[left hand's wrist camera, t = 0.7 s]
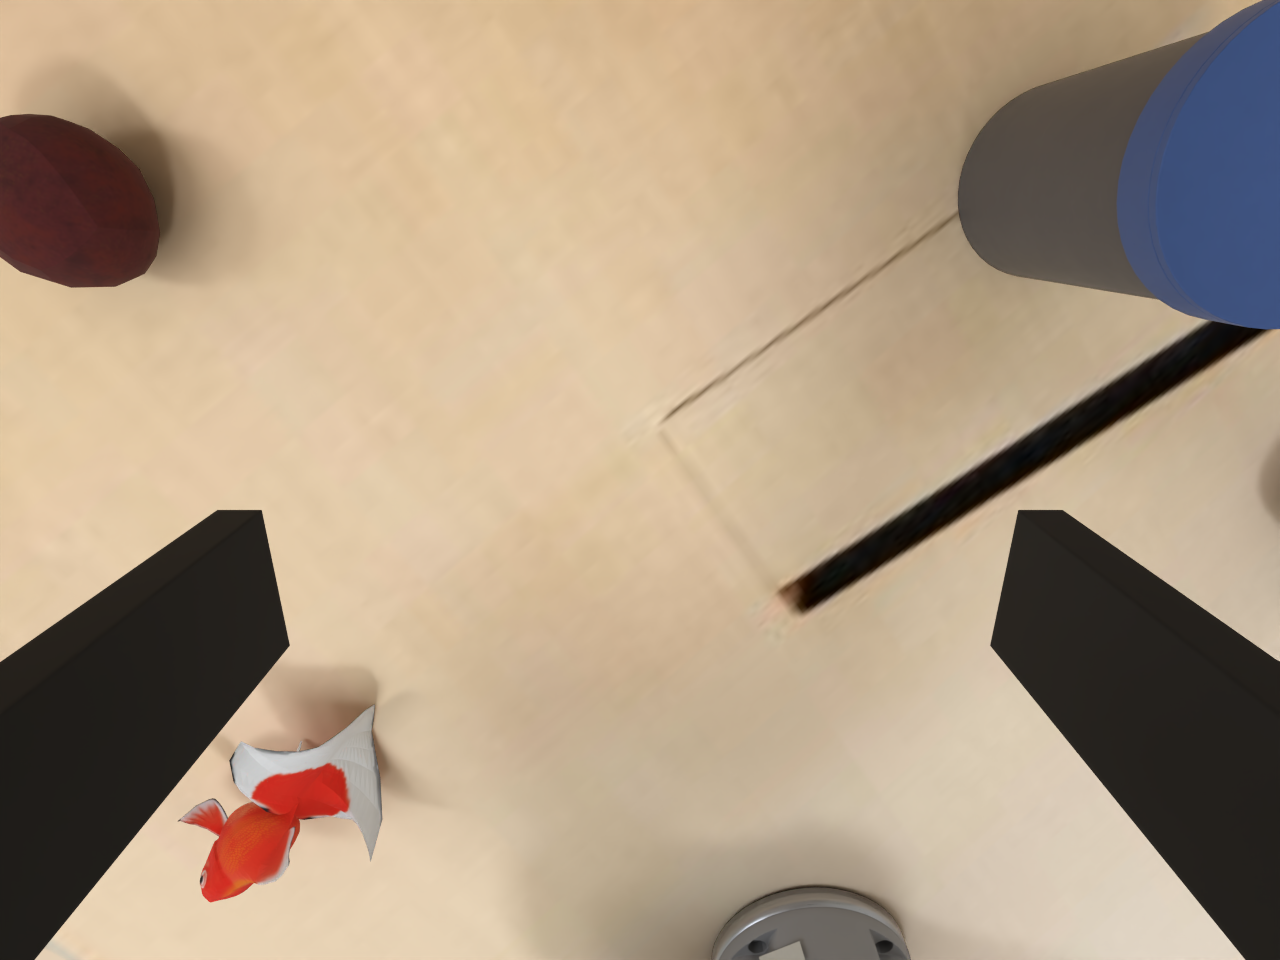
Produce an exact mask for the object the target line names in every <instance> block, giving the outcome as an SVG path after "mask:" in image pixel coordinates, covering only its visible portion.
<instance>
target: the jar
mask: <svg viewBox="0 0 1280 960" xmlns="http://www.w3.org/2000/svg"><path fill="white" fill-rule="evenodd" d="M1207 33H1208V32H1207ZM1207 33H1204V34H1201V35H1198V36H1195V37H1192V38H1188V39H1185V40H1182V41H1179V42H1176V43H1173V44H1170V45H1167V46H1163V47H1160V48H1157V49H1154V50H1151V51H1148V52H1145V53H1142V54H1138V55H1135V56H1132V57H1129V58H1126V59H1123V60H1120V61H1117V62H1114V63H1110V64H1107V65H1104V66H1101V67H1098V68H1095V69H1092V70H1089V71H1085V72H1082V73H1079V74H1076V75H1073V76H1070V77H1067V78H1064V79H1060V80H1057V81H1054V82H1051V83H1048V84H1045V85H1042V86H1039V87H1036V88H1033V89H1031V90H1029V91H1027V92H1025V93H1023V94H1021V95H1019V96H1018V97H1016V98H1014V99H1013V100H1011V101H1010V102H1009V103H1007V104H1006V105H1005V106H1004V107H1002V108H1001V109H1000V110H999V111H998V112H997V113H996V114H995V115H994V116H993V117H992V118H991V119H990V120H989V121H988V123H987V124H986V125H985V126H984V127H983V129H982V130H981V131H980V133H979V135H978V136H977V138H976V139H975V141H974V143H973V145H972V147H971V149H970V151H969V153H968V155H967V157H966V160H965V163H964V166H963V169H962V173H961V177H960V182H959V190H958V208H959V215H960V220H961V224H962V228H963V230H964V233H965V235H966V237H967V239H968V241H969V243H970V244H971V246H972V248H973V249H974V250H975V251H976V253H977V254H978V255H979V256H980V257H981V258H982V259H983V260H984V261H986V262H987V263H988V264H989V265H991V266H993V267H994V268H996V269H998V270H1000V271H1002V272H1005V273H1007V274H1011V275H1015V276H1019V277H1025V278H1031V279H1037V280H1044V281H1050V282H1056V283H1062V284H1068V285H1074V286H1080V287H1086V288H1092V289H1098V290H1104V291H1111V292H1117V293H1123V294H1129V295H1135V296H1141V297H1147V298H1153V299H1158V298H1157V297H1156V296H1155V295H1154V294H1152V293H1151V292H1150V291H1149V290H1148V289H1147V288H1146V287H1145V286H1144V284H1143V283H1142V282H1141V280H1140V279H1139V278H1138V277H1137V275H1136V274H1135V272H1134V270H1133V268H1132V267H1131V265H1130V263H1129V261H1128V259H1127V257H1126V254H1125V251H1124V248H1123V245H1122V242H1121V238H1120V233H1119V227H1118V220H1117V191H1118V181H1119V176H1120V170H1121V165H1122V160H1123V157H1124V154H1125V151H1126V148H1127V145H1128V142H1129V139H1130V136H1131V134H1132V132H1133V129H1134V127H1135V125H1136V123H1137V120H1138V118H1139V116H1140V114H1141V112H1142V111H1143V109H1144V107H1145V105H1146V104H1147V102H1148V100H1149V98H1150V97H1151V95H1152V94H1153V92H1154V91H1155V89H1156V88H1157V87H1158V85H1159V84H1160V82H1161V81H1162V79H1163V78H1164V77H1165V75H1166V74H1167V73H1168V72H1169V71H1170V69H1171V68H1172V67H1173V66H1174V65H1175V64H1176V63H1177V61H1178V60H1179V59H1180V58H1181V57H1182V56H1183V55H1184V54H1185V53H1186V52H1187V51H1188V50H1189V49H1190V48H1191V47H1192V46H1193V45H1194V44H1195V43H1196V42H1198V41H1199V40H1200V39H1201V38H1202V37H1203V36H1205V35H1206V34H1207Z"/></svg>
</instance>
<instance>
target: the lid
mask: <svg viewBox="0 0 1280 960" xmlns="http://www.w3.org/2000/svg"><path fill="white" fill-rule="evenodd" d="M1117 220H1118V227H1119V233H1120V238H1121V242H1122V245H1123V248H1124V251H1125V254H1126V257H1127V259H1128V261H1129V263H1130V265H1131V267H1132V268H1133V270H1134V272H1135V274H1136V275H1137V277H1138V278H1139V279H1140V280H1141V282H1142V283H1143V284H1144V286H1145V287H1146V288H1147V289H1148V290H1149V291H1150V292H1151V293H1152V294H1154V295H1155V296H1156V297H1157V298H1158V299H1159V300H1161V301H1162V302H1164V303H1165V304H1167V305H1168V306H1170V307H1172V308H1173V309H1176V310H1178V311H1180V312H1183V313H1185V314H1187V315H1190V316H1194V317H1198V318H1202V319H1206V320H1211V321H1217V322H1222V323H1227V324H1233V325H1238V326H1244V327H1250V328H1259V329H1280V0H1262V1H1260V2H1258V3H1256V4H1254V5H1252V6H1249V7H1247V8H1245V9H1243V10H1241V11H1240V12H1238V13H1236V14H1235V15H1233V16H1231V17H1230V18H1228V19H1226V20H1225V21H1223V22H1222V23H1220V24H1219V25H1218V26H1216V27H1215V28H1214V29H1212V30H1211V31H1210V32H1208V33H1207V34H1206V35H1205V36H1203V37H1202V38H1201V39H1200V40H1199V41H1198V42H1196V43H1195V44H1194V45H1193V46H1192V47H1191V48H1190V49H1189V50H1188V51H1187V52H1186V53H1185V54H1184V55H1183V56H1182V57H1181V58H1180V59H1179V60H1178V61H1177V63H1176V64H1175V65H1174V66H1173V67H1172V68H1171V69H1170V71H1169V72H1168V73H1167V74H1166V75H1165V77H1164V78H1163V79H1162V81H1161V82H1160V84H1159V85H1158V87H1157V88H1156V89H1155V91H1154V92H1153V94H1152V95H1151V97H1150V98H1149V100H1148V102H1147V104H1146V105H1145V107H1144V109H1143V111H1142V112H1141V114H1140V116H1139V118H1138V120H1137V123H1136V125H1135V127H1134V129H1133V132H1132V134H1131V136H1130V139H1129V142H1128V145H1127V148H1126V151H1125V154H1124V157H1123V160H1122V165H1121V170H1120V176H1119V181H1118V191H1117Z"/></svg>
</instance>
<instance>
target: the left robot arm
mask: <svg viewBox="0 0 1280 960" xmlns="http://www.w3.org/2000/svg"><path fill="white" fill-rule="evenodd" d="M289 646H290V645H289V640H288V635H287V630H286V625H285V621H284V616H283V611H282V606H281V601H280V596H279V592H278V587H277V582H276V577H275V572H274V568H273V563H272V558H271V553H270V548H269V543H268V539H267V534H266V529H265V524H264V519H263V514H262V510H217V511H215V512H214V513H213V514H211V515H210V516H208V517H207V518H205V519H204V520H203V521H201V522H200V523H198V524H197V525H195V526H194V527H193V528H191V529H190V530H188V531H187V532H185V533H184V534H183V535H181V536H180V537H178V538H177V539H175V540H174V541H173V542H171V543H170V544H168V545H167V546H165V547H164V548H163V549H161V550H160V551H158V552H157V553H156V554H154V555H153V556H151V557H150V558H148V559H147V560H146V561H144V562H143V563H141V564H140V565H138V566H137V567H136V568H134V569H133V570H131V571H130V572H128V573H127V574H126V575H124V576H123V577H121V578H120V579H118V580H117V581H116V582H114V583H113V584H111V585H110V586H108V587H107V588H106V589H104V590H103V591H101V592H100V593H98V594H97V595H96V596H94V597H93V598H91V599H90V600H88V601H87V602H86V603H84V604H83V605H81V606H80V607H78V608H77V609H76V610H74V611H73V612H71V613H70V614H68V615H67V616H66V617H64V618H63V619H61V620H60V621H58V622H57V623H56V624H54V625H53V626H51V627H50V628H48V629H47V630H46V631H44V632H43V633H41V634H40V635H38V636H37V637H36V638H34V639H33V640H31V641H30V642H28V643H27V644H26V645H24V646H23V647H21V648H20V649H18V650H17V651H16V652H14V653H13V654H11V655H10V656H8V657H7V658H6V659H4V660H3V661H1V662H0V960H35V958H36V957H37V956H38V955H39V954H40V952H41V951H42V950H43V949H44V947H45V946H46V945H47V944H48V942H49V941H50V940H51V939H52V938H53V936H54V935H55V934H56V933H57V931H58V930H59V929H60V928H61V926H62V925H63V924H64V923H65V922H66V920H67V919H68V918H69V917H70V915H71V914H72V913H73V912H74V910H75V909H76V908H77V907H78V906H79V904H80V903H81V902H82V901H83V899H84V898H85V897H86V896H87V894H88V893H89V892H90V891H91V890H92V888H93V887H94V886H95V885H96V883H97V882H98V881H99V880H100V878H101V877H102V876H103V875H104V874H105V872H106V871H107V870H108V869H109V867H110V866H111V865H112V864H113V862H114V861H115V860H116V859H117V858H118V856H119V855H120V854H121V853H122V851H123V850H124V849H125V848H126V846H127V845H128V844H129V843H130V841H131V840H132V839H133V838H134V837H135V835H136V834H137V833H138V832H139V830H140V829H141V828H142V827H143V825H144V824H145V823H146V822H147V821H148V819H149V818H150V817H151V816H152V814H153V813H154V812H155V811H156V809H157V808H158V807H159V806H160V805H161V803H162V802H163V801H164V800H165V798H166V797H167V796H168V795H169V793H170V792H171V791H172V790H173V789H174V787H175V786H176V785H177V784H178V782H179V781H180V780H181V779H182V777H183V776H184V775H185V774H186V773H187V771H188V770H189V769H190V768H191V766H192V765H193V764H194V763H195V761H196V760H197V759H198V758H199V757H200V755H201V754H202V753H203V752H204V750H205V749H206V748H207V747H208V745H209V744H210V743H211V742H212V741H213V739H214V738H215V737H216V736H217V734H218V733H219V732H220V731H221V729H222V728H223V727H224V726H225V725H226V723H227V722H228V721H229V720H230V718H231V717H232V716H233V715H234V713H235V712H236V711H237V710H238V709H239V707H240V706H241V705H242V704H243V702H244V701H245V700H246V699H247V697H248V696H249V695H250V694H251V693H252V691H253V690H254V689H255V688H256V686H257V685H258V684H259V683H260V681H261V680H262V679H263V678H264V677H265V675H266V674H267V673H268V672H269V670H270V669H271V668H272V667H273V665H274V664H275V663H276V662H277V661H278V659H279V658H280V657H281V656H282V654H283V653H284V652H285V651H286V649H287V648H288V647H289ZM990 646H991V647H992V648H993V649H994V651H995V652H996V653H997V654H998V656H999V657H1000V658H1001V659H1002V661H1003V662H1004V663H1005V664H1006V665H1007V667H1008V668H1009V669H1010V670H1011V672H1012V673H1013V674H1014V675H1015V677H1016V678H1017V679H1018V680H1019V681H1020V683H1021V684H1022V685H1023V686H1024V688H1025V689H1026V690H1027V691H1028V693H1029V694H1030V695H1031V696H1032V697H1033V699H1034V700H1035V701H1036V702H1037V704H1038V705H1039V706H1040V707H1041V709H1042V710H1043V711H1044V712H1045V713H1046V715H1047V716H1048V717H1049V718H1050V720H1051V721H1052V722H1053V723H1054V725H1055V726H1056V727H1057V728H1058V729H1059V731H1060V732H1061V733H1062V734H1063V736H1064V737H1065V738H1066V739H1067V741H1068V742H1069V743H1070V744H1071V745H1072V747H1073V748H1074V749H1075V750H1076V752H1077V753H1078V754H1079V755H1080V757H1081V758H1082V759H1083V760H1084V761H1085V763H1086V764H1087V765H1088V766H1089V768H1090V769H1091V770H1092V771H1093V773H1094V774H1095V775H1096V776H1097V777H1098V779H1099V780H1100V781H1101V782H1102V784H1103V785H1104V786H1105V787H1106V789H1107V790H1108V791H1109V792H1110V793H1111V795H1112V796H1113V797H1114V798H1115V800H1116V801H1117V802H1118V803H1119V805H1120V806H1121V807H1122V808H1123V809H1124V811H1125V812H1126V813H1127V814H1128V816H1129V817H1130V818H1131V819H1132V821H1133V822H1134V823H1135V824H1136V825H1137V827H1138V828H1139V829H1140V830H1141V832H1142V833H1143V834H1144V835H1145V837H1146V838H1147V839H1148V840H1149V842H1150V843H1151V844H1152V845H1153V846H1154V848H1155V849H1156V850H1157V851H1158V853H1159V854H1160V855H1161V856H1162V858H1163V859H1164V860H1165V861H1166V862H1167V864H1168V865H1169V866H1170V867H1171V869H1172V870H1173V871H1174V872H1175V874H1176V875H1177V876H1178V877H1179V878H1180V880H1181V881H1182V882H1183V883H1184V885H1185V886H1186V887H1187V888H1188V890H1189V891H1190V892H1191V893H1192V894H1193V896H1194V897H1195V898H1196V899H1197V901H1198V902H1199V903H1200V904H1201V906H1202V907H1203V908H1204V909H1205V910H1206V912H1207V913H1208V914H1209V915H1210V917H1211V918H1212V919H1213V920H1214V922H1215V923H1216V924H1217V925H1218V926H1219V928H1220V929H1221V930H1222V931H1223V933H1224V934H1225V935H1226V936H1227V938H1228V939H1229V940H1230V941H1231V942H1232V944H1233V945H1234V946H1235V947H1236V949H1237V950H1238V951H1239V952H1240V954H1241V955H1242V956H1243V957H1244V958H1245V960H1280V661H1278V660H1276V659H1274V658H1273V657H1272V656H1270V655H1269V654H1267V653H1266V652H1264V651H1263V650H1262V649H1260V648H1259V647H1257V646H1256V645H1254V644H1253V643H1252V642H1250V641H1249V640H1247V639H1246V638H1244V637H1243V636H1242V635H1240V634H1239V633H1237V632H1236V631H1234V630H1233V629H1232V628H1230V627H1229V626H1227V625H1226V624H1224V623H1223V622H1222V621H1220V620H1219V619H1217V618H1216V617H1214V616H1213V615H1212V614H1210V613H1209V612H1207V611H1206V610H1204V609H1203V608H1202V607H1200V606H1199V605H1197V604H1196V603H1194V602H1193V601H1192V600H1190V599H1189V598H1187V597H1186V596H1184V595H1183V594H1182V593H1180V592H1179V591H1177V590H1176V589H1174V588H1173V587H1172V586H1170V585H1169V584H1167V583H1166V582H1164V581H1163V580H1162V579H1160V578H1159V577H1157V576H1156V575H1154V574H1153V573H1152V572H1150V571H1149V570H1147V569H1146V568H1144V567H1143V566H1142V565H1140V564H1139V563H1137V562H1136V561H1134V560H1133V559H1132V558H1130V557H1129V556H1127V555H1126V554H1124V553H1123V552H1122V551H1120V550H1119V549H1117V548H1116V547H1115V546H1113V545H1112V544H1110V543H1109V542H1107V541H1106V540H1105V539H1103V538H1102V537H1100V536H1099V535H1097V534H1096V533H1095V532H1093V531H1092V530H1090V529H1089V528H1087V527H1086V526H1085V525H1083V524H1082V523H1080V522H1079V521H1077V520H1076V519H1075V518H1073V517H1072V516H1070V515H1069V514H1067V513H1066V512H1065V511H1063V510H1018V514H1017V519H1016V524H1015V529H1014V534H1013V539H1012V543H1011V548H1010V553H1009V558H1008V563H1007V568H1006V572H1005V577H1004V582H1003V587H1002V592H1001V596H1000V601H999V606H998V611H997V616H996V621H995V625H994V630H993V635H992V640H991V645H990ZM712 960H911V959H910V955H909V952H908V949H907V946H906V943H905V941H904V938H903V935H902V932H901V930H900V928H899V926H898V924H897V923H896V921H895V920H894V919H893V917H892V916H891V915H890V914H889V913H888V912H887V911H886V910H885V909H884V908H882V907H881V906H879V905H878V904H877V903H875V902H873V901H871V900H870V899H867V898H865V897H863V896H861V895H858V894H855V893H852V892H848V891H844V890H839V889H832V888H801V889H793V890H788V891H784V892H780V893H776V894H773V895H770V896H767V897H765V898H762V899H760V900H758V901H756V902H754V903H752V904H750V905H749V906H747V907H746V908H744V909H742V910H741V911H740V912H738V913H737V914H736V915H735V916H734V917H733V918H732V919H730V921H729V922H728V923H727V924H726V925H725V926H724V928H723V929H722V930H721V932H720V934H719V935H718V937H717V939H716V942H715V944H714V948H713V952H712Z"/></svg>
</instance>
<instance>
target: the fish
mask: <svg viewBox="0 0 1280 960" xmlns="http://www.w3.org/2000/svg"><path fill="white" fill-rule="evenodd" d="M374 709H375V704H374V705H372V706H371V707H369V708H368V709H366V710H365V711H364V712H363V713H362V714H360V715H359V716H358V717H357V718H356V719H355V720H354V721H353V722H352V723H351V724H350V725H349V726H348V727H347V728H345V729H344V730H342V731H341V732H340V733H338V734H337V735H336V736H334V737H333V738H331V739H330V740H328V741H327V742H325V743H324V744H322V745H321V746H319V747H318V748H313V749H308V750H304V751H300V748H301V744H302V741H301V742H300V744H299V746H298V749H297V751H296V752H292V751H271V750H265V749H259V748H254V747H252V746H250V745H248V744H246V743H243V742H240V744H239V746H238V747H237V749H236V750H235V752H234V754H233V755H232V757H231V759H230V760H229V761H230V766H231V771H232V776H233V781H234V783H235V784H236V786H237V787H238V788H239V790H240V791H241V792H242V793H243V794H244V795H245V796H247V797H248V798H249V799H250V800H251V801H253V802H250V803H247V804H245V805H243V806H241V807H240V808H238V809H237V810H235V811H234V812H233V813H232V814H231V815H230V816H229V818H228V817H227V815H226V813H225V811H224V809H223V808H222V806H221V805H220V803H219V802H218V801H217V800H216V799H213V798H212V799H209V800H207V801H205V802H203V803H201V804H198V805H196V806H195V807H194V808H193V809H191V810H190V811H189V812H188V813H187V814H186V815H185V816H183V817H182V818H181V819H180V820H178V821H182V822H185V823H188V824H193V825H197V826H199V827H202V828H205V829H208V830H209V831H211V832H213V833H214V834H216V835H217V836H219V838H218V840H216V841H215V842H214V844H213V846H212V849H211V852H210V854H209V857H208V859H207V861H206V864H205V866H204V868H203V870H202V873H201V878H200V886H201V889H202V894H203V896H204V897H205V898H206V899H207V900H208V901H209V902H214V901H218V900H223V899H227V898H230V897H234V896H237V895H239V894H241V893H242V892H244V891H245V890H247V889H248V888H249V887H250V886H251V885H252V884H253V883H256V884H259V885H260V884H268V883H271V882H274V881H276V880H277V879H278V878H279V877H281V876H282V874H283V873H284V871H285V870H286V868H287V867H288V865H289V862H290V861H289V851H290V849H291V847H292V845H293V844H294V842H295V840H296V838H297V836H298V834H299V831H300V821H299V819H303V820H305V819H313V818H321V817H328V816H332V817H338V818H344V819H352V820H353V821H354V822H355V823H356V824H357V825H358V827H359V829H360V830H361V832H362V834H363V836H364V839H365V842H366V845H367V848H368V851H369V856H370V862H371V858H372V855H373V851H374V847H375V844H376V840H377V837H378V833H379V829H380V826H381V822H382V804H381V784H380V774H379V769H378V763H377V758H376V753H375V747H374V741H373V735H372V726H373V720H374Z"/></svg>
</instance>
